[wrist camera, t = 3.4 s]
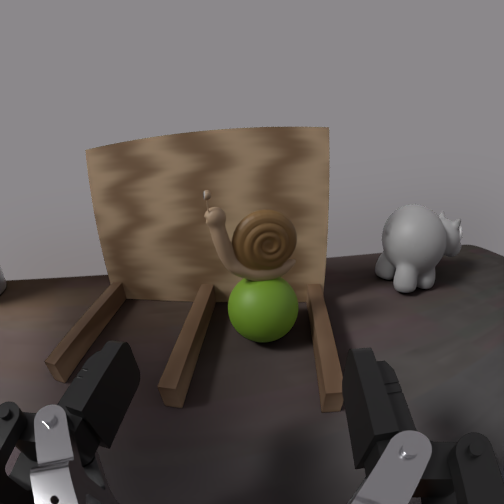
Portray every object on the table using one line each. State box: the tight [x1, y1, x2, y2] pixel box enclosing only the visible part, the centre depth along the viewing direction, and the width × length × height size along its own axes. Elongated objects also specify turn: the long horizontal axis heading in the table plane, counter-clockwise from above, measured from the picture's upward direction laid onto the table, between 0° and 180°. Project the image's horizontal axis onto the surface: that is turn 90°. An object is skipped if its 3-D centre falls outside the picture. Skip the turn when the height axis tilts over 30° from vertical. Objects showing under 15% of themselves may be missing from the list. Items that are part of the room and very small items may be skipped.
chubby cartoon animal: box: [375, 204, 462, 293], centre depth 28 cm, size 8×12×9 cm, turn 98°
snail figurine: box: [203, 190, 298, 342], centre depth 21 cm, size 5×6×12 cm
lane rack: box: [45, 127, 344, 413], centre depth 20 cm, size 22×14×16 cm, turn 86°
